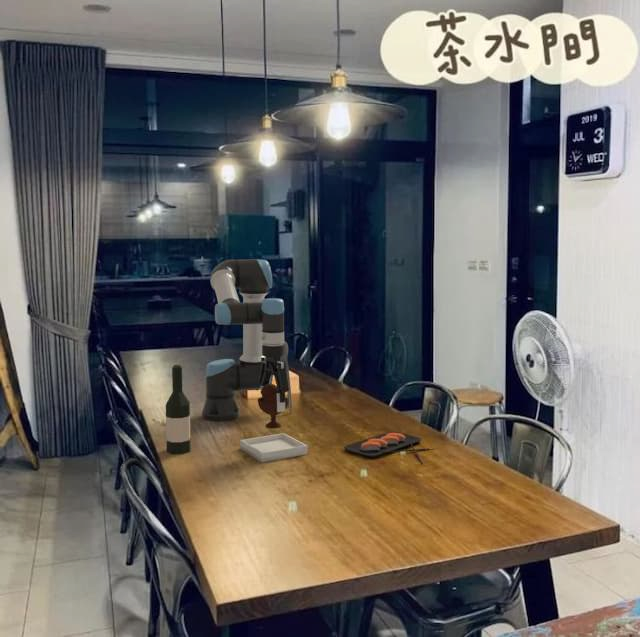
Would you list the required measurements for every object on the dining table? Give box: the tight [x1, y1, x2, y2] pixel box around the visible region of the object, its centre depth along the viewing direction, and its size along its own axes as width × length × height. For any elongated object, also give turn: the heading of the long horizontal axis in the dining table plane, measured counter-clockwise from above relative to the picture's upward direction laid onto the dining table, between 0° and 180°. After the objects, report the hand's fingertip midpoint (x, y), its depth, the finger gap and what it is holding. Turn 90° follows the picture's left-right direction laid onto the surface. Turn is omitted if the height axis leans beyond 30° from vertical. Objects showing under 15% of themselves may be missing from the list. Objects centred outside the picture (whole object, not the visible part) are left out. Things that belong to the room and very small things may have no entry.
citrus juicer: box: [270, 340, 293, 415], centre depth 289 cm, size 11×10×30 cm
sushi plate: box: [343, 431, 429, 465], centre depth 234 cm, size 29×30×4 cm
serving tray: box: [239, 432, 309, 463], centre depth 233 cm, size 17×17×3 cm
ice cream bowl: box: [257, 383, 290, 430], centre depth 231 cm, size 11×11×15 cm
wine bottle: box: [165, 364, 192, 455], centre depth 232 cm, size 8×8×30 cm
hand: (273, 407), depth 232 cm, fingers closed on ice cream bowl, 11 cm apart
